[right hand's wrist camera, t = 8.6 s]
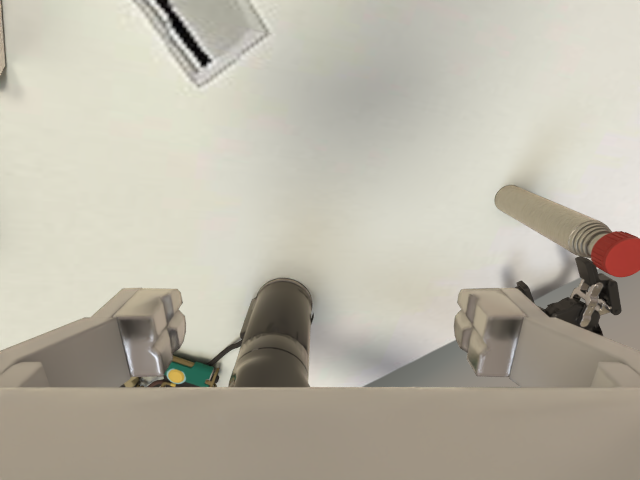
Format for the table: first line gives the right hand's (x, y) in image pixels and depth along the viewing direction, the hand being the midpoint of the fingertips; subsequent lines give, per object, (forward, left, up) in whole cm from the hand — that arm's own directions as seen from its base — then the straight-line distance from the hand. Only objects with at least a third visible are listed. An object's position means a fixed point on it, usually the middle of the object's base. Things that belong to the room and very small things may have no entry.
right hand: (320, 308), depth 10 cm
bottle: (-2, +29, -42) cm, 51 cm away
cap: (-2, +29, -20) cm, 35 cm away
